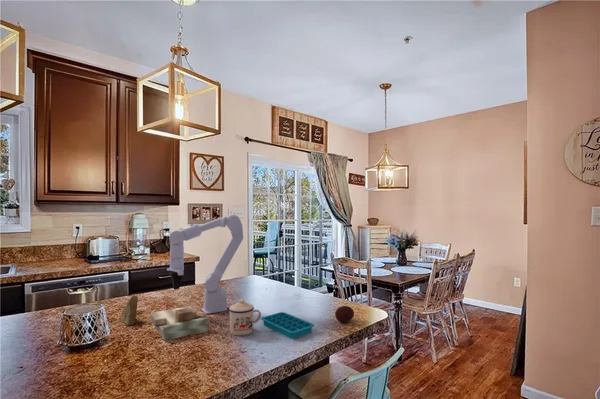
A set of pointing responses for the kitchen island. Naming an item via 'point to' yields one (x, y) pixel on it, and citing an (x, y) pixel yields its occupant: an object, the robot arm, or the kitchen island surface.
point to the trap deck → (177, 324)
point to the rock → (130, 311)
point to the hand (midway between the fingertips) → (176, 288)
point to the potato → (344, 313)
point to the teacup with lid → (242, 318)
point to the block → (183, 315)
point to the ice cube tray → (287, 325)
